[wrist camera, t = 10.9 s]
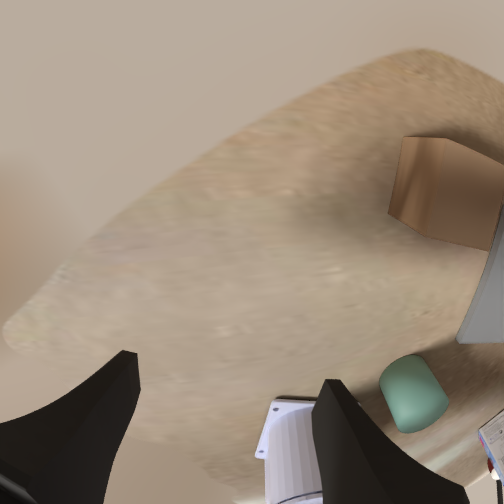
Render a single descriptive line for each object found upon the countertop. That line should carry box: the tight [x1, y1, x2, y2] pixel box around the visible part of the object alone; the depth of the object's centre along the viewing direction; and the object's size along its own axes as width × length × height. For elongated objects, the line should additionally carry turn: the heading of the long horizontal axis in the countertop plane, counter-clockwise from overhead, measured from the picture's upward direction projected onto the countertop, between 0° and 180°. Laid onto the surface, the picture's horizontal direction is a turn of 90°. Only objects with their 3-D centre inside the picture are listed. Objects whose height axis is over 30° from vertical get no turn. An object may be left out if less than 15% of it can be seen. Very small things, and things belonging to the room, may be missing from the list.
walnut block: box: [388, 137, 504, 251], centre depth 15 cm, size 5×5×5 cm
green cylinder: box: [379, 355, 449, 433], centre depth 20 cm, size 4×4×5 cm
